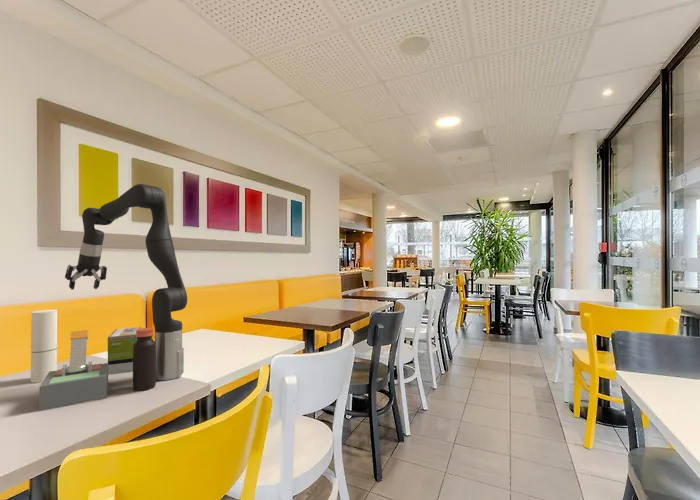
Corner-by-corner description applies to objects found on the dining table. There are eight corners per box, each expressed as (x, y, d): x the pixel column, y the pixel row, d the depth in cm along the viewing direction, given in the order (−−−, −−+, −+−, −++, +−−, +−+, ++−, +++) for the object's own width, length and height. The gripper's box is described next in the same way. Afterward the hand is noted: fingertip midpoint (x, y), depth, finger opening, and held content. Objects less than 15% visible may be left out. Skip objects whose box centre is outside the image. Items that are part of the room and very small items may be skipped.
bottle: (157, 387, 117) (158, 329, 117) (135, 393, 112) (135, 332, 113) (152, 382, 122) (153, 326, 122) (130, 387, 117) (131, 329, 118)
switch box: (108, 382, 122) (108, 354, 122) (106, 398, 109) (106, 366, 109) (49, 392, 113) (49, 362, 113) (39, 410, 100) (39, 376, 100)
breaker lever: (87, 372, 113) (89, 332, 118) (86, 370, 111) (88, 329, 116) (67, 375, 110) (70, 334, 116) (66, 373, 108) (69, 331, 114)
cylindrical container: (54, 374, 131) (54, 309, 131) (58, 378, 126) (59, 310, 126) (28, 379, 125) (29, 311, 125) (32, 384, 121) (33, 313, 121)
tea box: (114, 363, 144) (115, 328, 144) (142, 360, 148) (142, 326, 148) (106, 374, 130) (107, 335, 130) (137, 371, 134) (137, 333, 135)
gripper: (73, 254, 140) (66, 292, 142) (112, 256, 152) (105, 290, 154) (67, 250, 144) (60, 286, 146) (105, 251, 156) (99, 285, 158)
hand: (83, 288), depth 150 cm, fingers open, 8 cm apart
